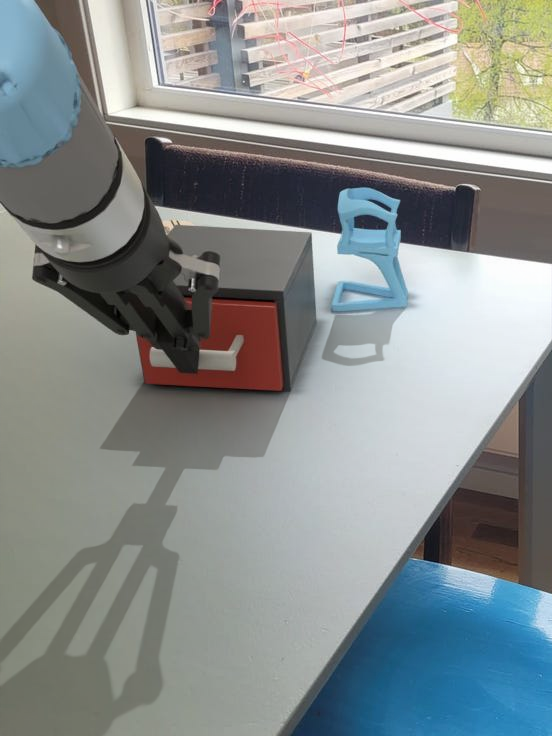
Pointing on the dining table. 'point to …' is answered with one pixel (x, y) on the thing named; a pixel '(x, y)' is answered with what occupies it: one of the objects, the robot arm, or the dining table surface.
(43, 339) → the dining table surface
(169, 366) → the red drawer
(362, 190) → the chair
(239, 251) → the grey drawer unit
